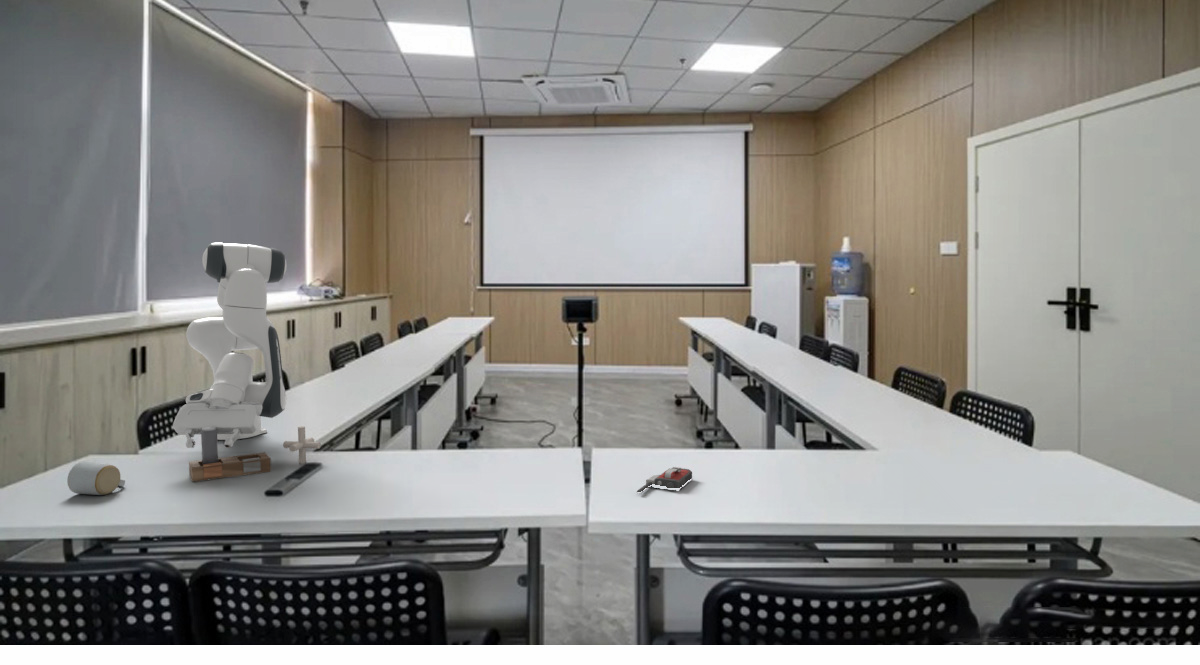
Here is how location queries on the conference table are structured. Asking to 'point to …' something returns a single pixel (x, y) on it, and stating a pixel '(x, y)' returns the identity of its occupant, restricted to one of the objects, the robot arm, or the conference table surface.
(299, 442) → the pipe connector
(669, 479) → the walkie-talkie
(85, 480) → the ceramic mug
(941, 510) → the conference table surface
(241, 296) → the robot arm
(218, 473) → the socket strip
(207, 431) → the tall grey block
